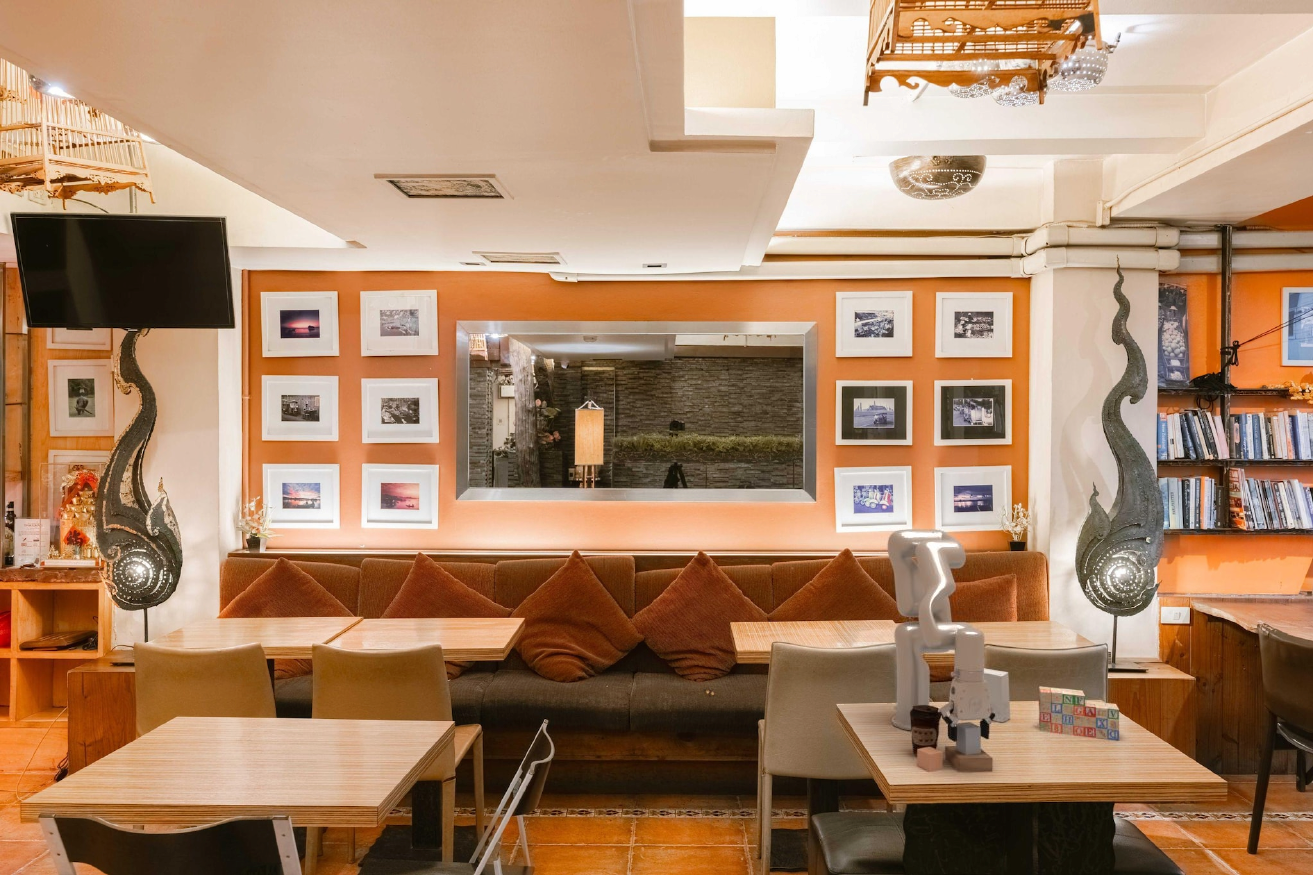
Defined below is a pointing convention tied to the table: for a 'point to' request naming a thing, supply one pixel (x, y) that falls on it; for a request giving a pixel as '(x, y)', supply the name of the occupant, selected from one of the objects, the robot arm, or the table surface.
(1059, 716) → the stack of blocks
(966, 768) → the plinth
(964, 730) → the slate block
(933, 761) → the terracotta cube
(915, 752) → the coffee cup
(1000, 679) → the skincare box
